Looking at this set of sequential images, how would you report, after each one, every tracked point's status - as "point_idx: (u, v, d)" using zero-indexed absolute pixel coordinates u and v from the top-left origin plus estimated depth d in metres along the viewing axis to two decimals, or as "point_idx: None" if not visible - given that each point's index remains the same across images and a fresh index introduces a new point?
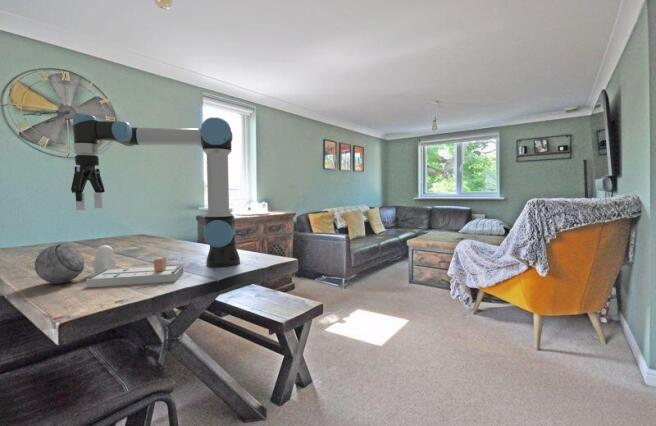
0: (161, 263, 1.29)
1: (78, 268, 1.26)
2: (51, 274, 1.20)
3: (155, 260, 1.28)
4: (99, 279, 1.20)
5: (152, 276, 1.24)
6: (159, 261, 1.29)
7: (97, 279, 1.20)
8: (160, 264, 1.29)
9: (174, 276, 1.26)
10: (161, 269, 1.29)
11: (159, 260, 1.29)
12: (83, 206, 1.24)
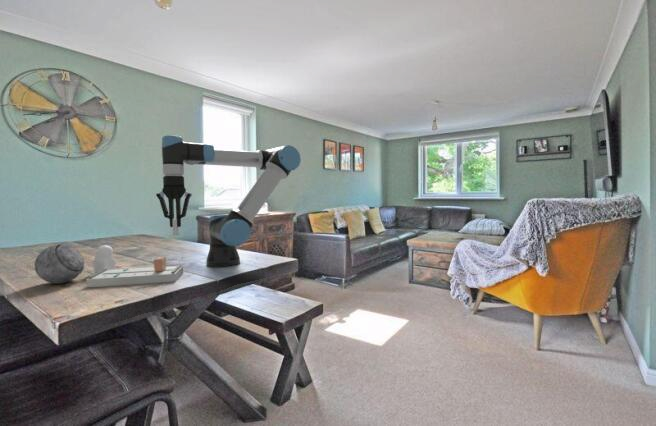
0: (161, 263, 1.29)
1: (78, 268, 1.26)
2: (51, 274, 1.20)
3: (155, 260, 1.28)
4: (99, 279, 1.20)
5: (152, 276, 1.24)
6: (159, 261, 1.29)
7: (97, 279, 1.20)
8: (160, 264, 1.29)
9: (174, 276, 1.26)
10: (161, 269, 1.29)
11: (159, 260, 1.29)
12: (173, 232, 1.30)
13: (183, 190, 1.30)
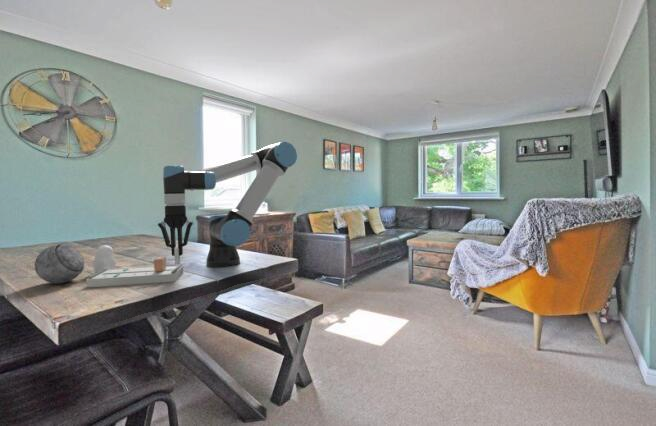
0: (161, 263, 1.29)
1: (78, 268, 1.26)
2: (51, 274, 1.20)
3: (155, 260, 1.28)
4: (99, 279, 1.20)
5: (152, 276, 1.24)
6: (159, 261, 1.29)
7: (97, 279, 1.20)
8: (160, 264, 1.29)
9: (174, 276, 1.26)
10: (161, 269, 1.29)
11: (159, 260, 1.29)
12: (175, 260, 1.31)
13: (185, 219, 1.31)
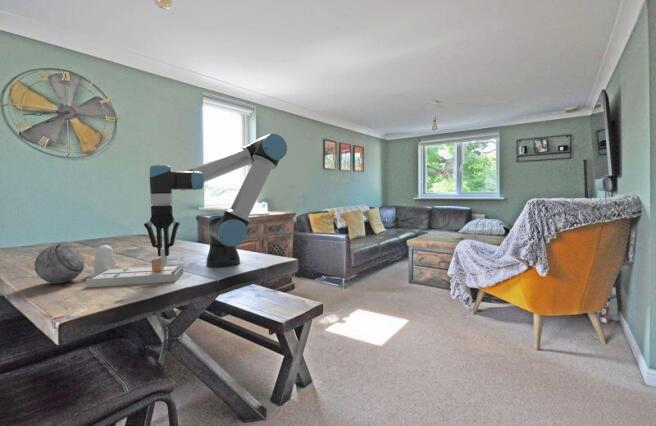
0: (159, 263, 1.29)
1: (78, 268, 1.26)
2: (51, 274, 1.20)
3: (153, 260, 1.28)
4: (99, 279, 1.20)
5: (152, 276, 1.24)
6: (157, 261, 1.28)
7: (97, 279, 1.20)
8: (158, 264, 1.29)
9: (174, 276, 1.26)
10: (159, 269, 1.29)
11: (157, 260, 1.28)
12: (161, 261, 1.30)
13: (171, 219, 1.30)
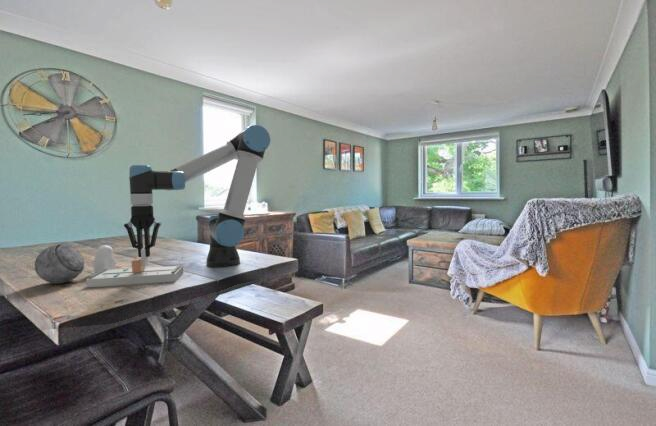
0: (139, 264, 1.27)
1: (78, 268, 1.26)
2: (51, 274, 1.20)
3: (133, 261, 1.27)
4: (99, 279, 1.20)
5: (152, 276, 1.24)
6: (137, 262, 1.27)
7: (97, 279, 1.20)
8: (138, 266, 1.27)
9: (174, 276, 1.26)
10: (139, 270, 1.27)
11: (137, 261, 1.27)
12: None
13: (152, 220, 1.28)
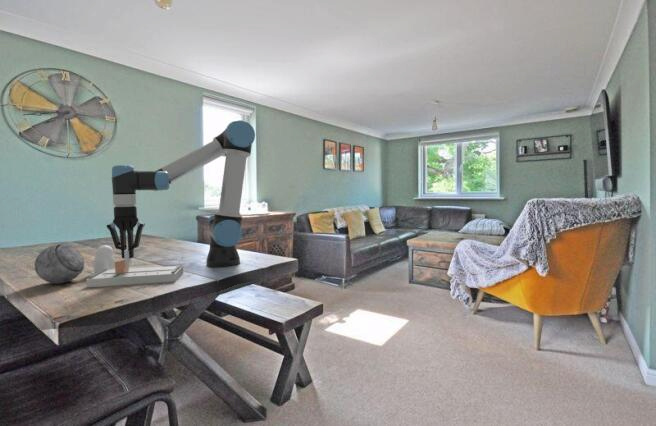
0: (122, 265, 1.26)
1: (78, 268, 1.26)
2: (51, 274, 1.20)
3: (116, 262, 1.25)
4: (99, 279, 1.20)
5: (152, 276, 1.24)
6: (120, 263, 1.26)
7: (97, 279, 1.20)
8: (121, 267, 1.26)
9: (174, 276, 1.26)
10: (122, 271, 1.26)
11: (120, 262, 1.26)
12: (125, 263, 1.27)
13: (135, 220, 1.27)
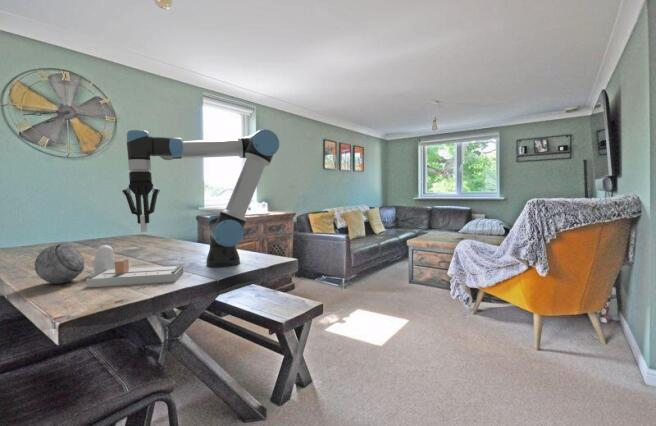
0: (122, 265, 1.26)
1: (78, 268, 1.26)
2: (51, 274, 1.20)
3: (116, 262, 1.25)
4: (99, 279, 1.20)
5: (152, 276, 1.24)
6: (120, 263, 1.26)
7: (97, 279, 1.20)
8: (121, 267, 1.26)
9: (174, 276, 1.26)
10: (122, 271, 1.26)
11: (120, 262, 1.26)
12: (141, 228, 1.28)
13: (150, 186, 1.28)
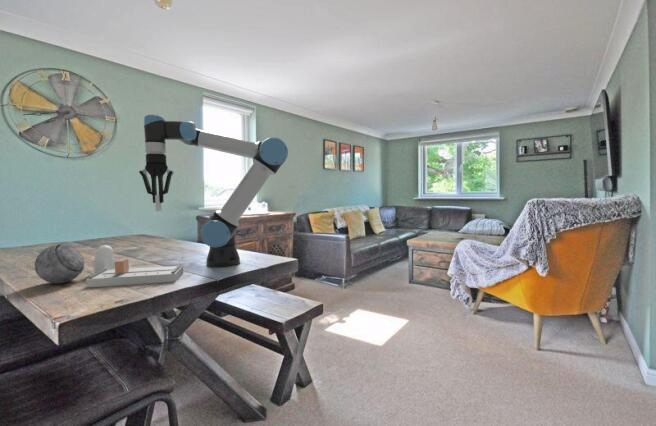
0: (122, 265, 1.26)
1: (78, 268, 1.26)
2: (51, 274, 1.20)
3: (116, 262, 1.25)
4: (99, 279, 1.20)
5: (152, 276, 1.24)
6: (120, 263, 1.26)
7: (97, 279, 1.20)
8: (121, 267, 1.26)
9: (174, 276, 1.26)
10: (122, 271, 1.26)
11: (120, 262, 1.26)
12: (156, 207, 1.37)
13: (165, 167, 1.37)
